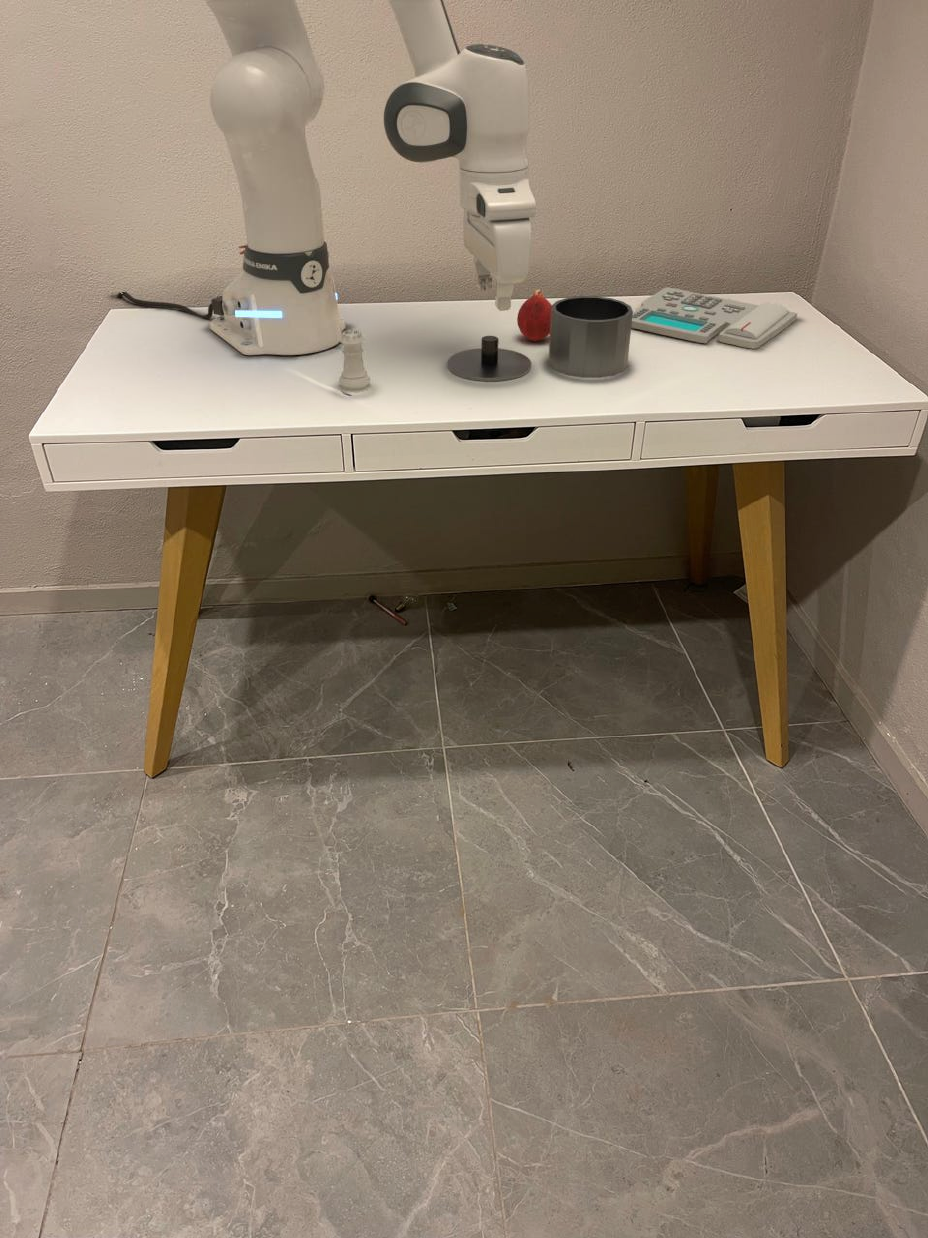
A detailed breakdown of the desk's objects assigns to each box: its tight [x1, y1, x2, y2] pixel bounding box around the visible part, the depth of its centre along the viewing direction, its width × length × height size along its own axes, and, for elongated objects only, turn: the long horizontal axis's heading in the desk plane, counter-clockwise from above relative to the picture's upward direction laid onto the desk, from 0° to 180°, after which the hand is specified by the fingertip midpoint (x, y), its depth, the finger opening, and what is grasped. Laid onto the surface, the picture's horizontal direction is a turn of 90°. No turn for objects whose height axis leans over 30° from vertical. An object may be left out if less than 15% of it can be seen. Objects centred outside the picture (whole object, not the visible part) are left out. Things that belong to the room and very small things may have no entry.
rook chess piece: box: [338, 329, 372, 397], centre depth 130 cm, size 4×4×8 cm
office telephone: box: [631, 286, 798, 350], centre depth 155 cm, size 23×3×20 cm
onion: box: [516, 289, 553, 343], centre depth 146 cm, size 6×6×8 cm
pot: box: [547, 295, 634, 379], centre depth 138 cm, size 11×11×8 cm
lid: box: [447, 335, 532, 382], centre depth 138 cm, size 12×12×5 cm
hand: (493, 298), depth 133 cm, fingers open, 8 cm apart
